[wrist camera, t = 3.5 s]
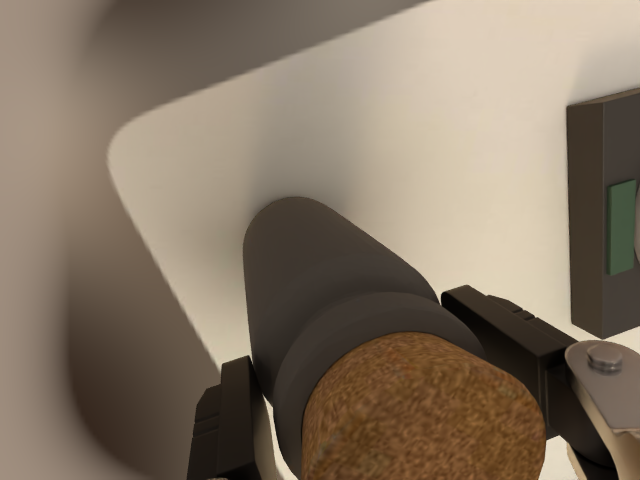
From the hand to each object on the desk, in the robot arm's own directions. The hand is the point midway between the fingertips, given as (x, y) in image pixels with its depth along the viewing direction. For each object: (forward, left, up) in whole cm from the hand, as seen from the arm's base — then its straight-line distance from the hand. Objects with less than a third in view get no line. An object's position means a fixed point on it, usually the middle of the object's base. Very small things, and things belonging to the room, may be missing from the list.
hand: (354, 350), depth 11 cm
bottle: (0, 0, -11) cm, 11 cm away
